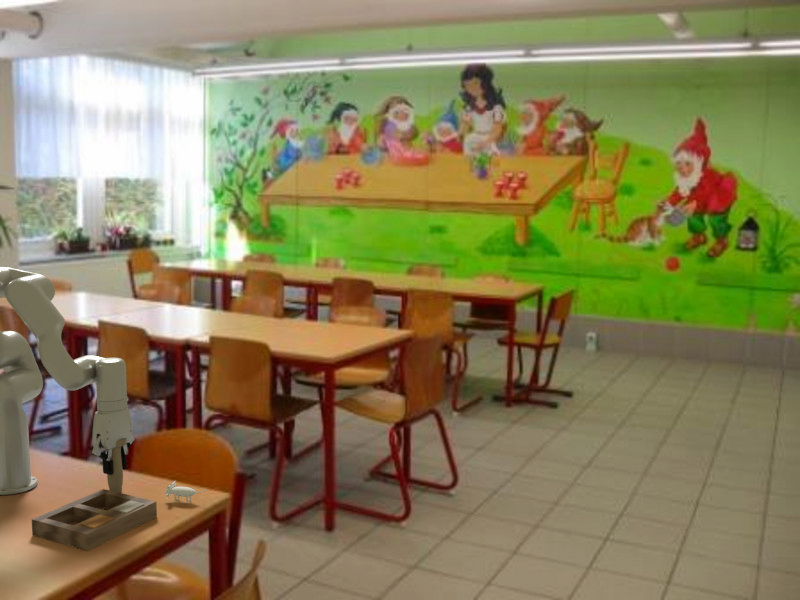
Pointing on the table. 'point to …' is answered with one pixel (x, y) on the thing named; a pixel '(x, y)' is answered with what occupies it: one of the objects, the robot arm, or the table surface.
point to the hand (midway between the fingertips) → (114, 470)
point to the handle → (116, 468)
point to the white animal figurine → (180, 491)
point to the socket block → (94, 519)
